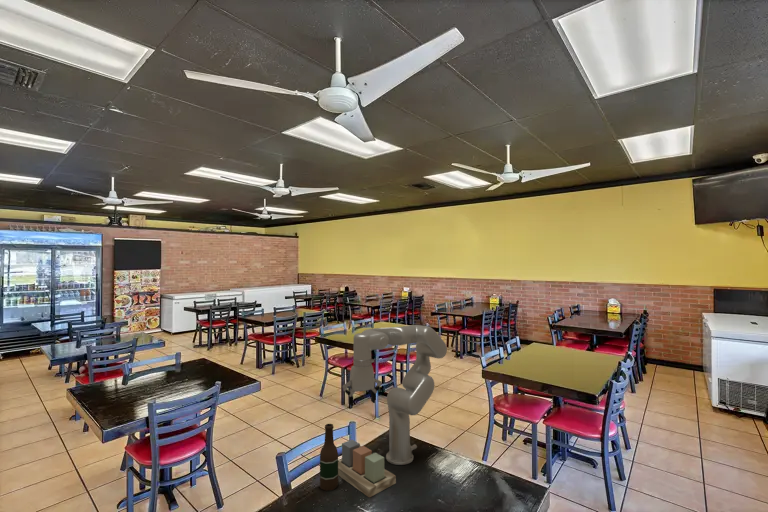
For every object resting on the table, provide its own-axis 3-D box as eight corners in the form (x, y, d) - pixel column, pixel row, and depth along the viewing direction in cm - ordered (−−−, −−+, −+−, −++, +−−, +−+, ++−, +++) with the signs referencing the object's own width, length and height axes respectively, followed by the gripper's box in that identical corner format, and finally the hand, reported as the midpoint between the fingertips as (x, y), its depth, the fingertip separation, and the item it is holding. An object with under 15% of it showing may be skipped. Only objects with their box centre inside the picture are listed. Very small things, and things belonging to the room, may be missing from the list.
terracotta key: (363, 464, 156) (363, 445, 156) (371, 469, 152) (371, 450, 152) (353, 469, 152) (353, 450, 153) (361, 474, 148) (361, 454, 149)
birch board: (356, 459, 166) (356, 452, 166) (395, 483, 147) (395, 475, 147) (331, 470, 157) (331, 463, 157) (369, 497, 138) (369, 489, 138)
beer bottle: (334, 492, 141) (335, 429, 142) (316, 490, 143) (316, 428, 144) (341, 481, 149) (341, 421, 150) (323, 479, 150) (323, 420, 151)
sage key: (375, 472, 150) (375, 452, 151) (384, 477, 146) (384, 457, 146) (364, 477, 146) (364, 457, 147) (373, 483, 142) (373, 462, 143)
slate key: (352, 457, 162) (352, 439, 162) (359, 462, 158) (359, 443, 158) (341, 462, 158) (341, 443, 159) (349, 467, 154) (349, 448, 155)
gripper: (378, 359, 161) (378, 398, 160) (340, 362, 155) (340, 403, 154) (384, 362, 154) (384, 403, 153) (345, 367, 148) (345, 409, 147)
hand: (362, 403), depth 153 cm, fingers open, 9 cm apart
